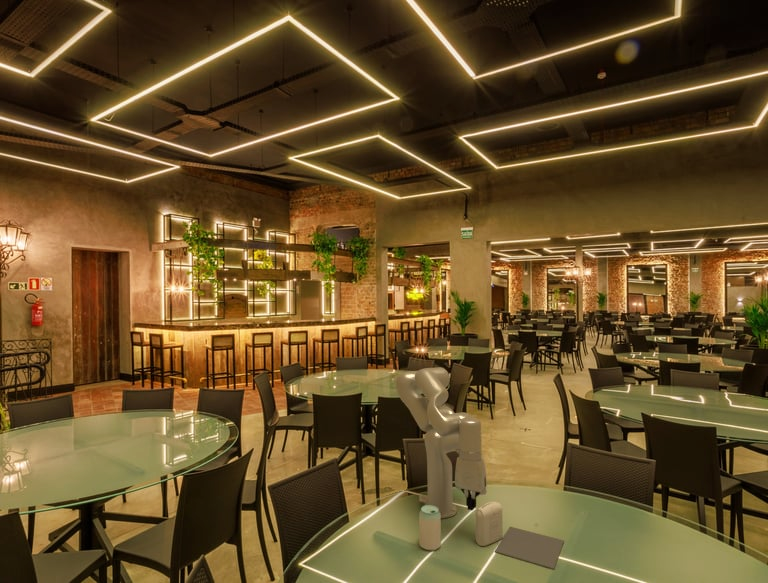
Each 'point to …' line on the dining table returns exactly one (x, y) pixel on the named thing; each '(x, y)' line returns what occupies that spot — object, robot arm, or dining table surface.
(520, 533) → the rubber mat
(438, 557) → the dining table surface
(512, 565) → the dining table surface
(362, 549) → the dining table surface
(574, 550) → the dining table surface
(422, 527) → the can
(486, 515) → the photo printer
